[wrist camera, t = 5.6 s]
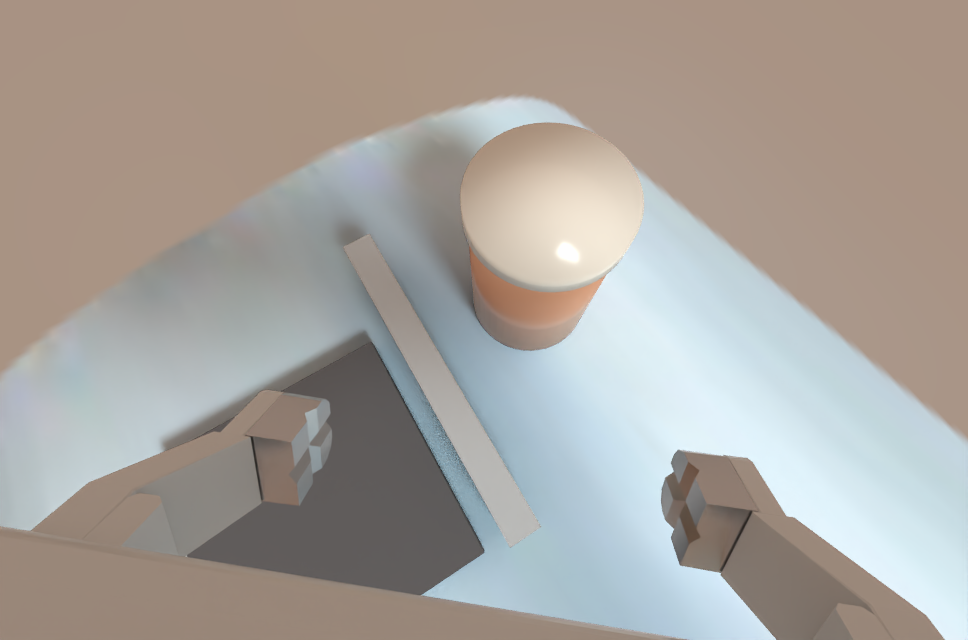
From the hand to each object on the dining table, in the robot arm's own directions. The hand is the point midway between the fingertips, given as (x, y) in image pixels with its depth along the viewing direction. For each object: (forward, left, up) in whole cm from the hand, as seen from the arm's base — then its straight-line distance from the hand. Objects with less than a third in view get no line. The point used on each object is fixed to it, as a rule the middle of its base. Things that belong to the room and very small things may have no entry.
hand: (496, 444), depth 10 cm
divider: (0, +5, -13) cm, 14 cm away
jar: (+7, +7, -13) cm, 16 cm away
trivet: (-8, +3, -13) cm, 16 cm away
